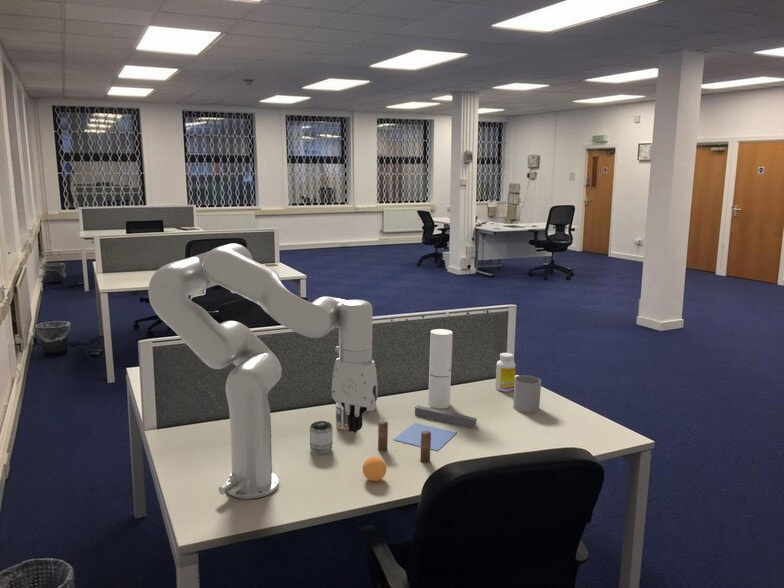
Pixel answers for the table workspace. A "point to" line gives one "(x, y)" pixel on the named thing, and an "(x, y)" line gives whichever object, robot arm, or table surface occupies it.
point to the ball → (374, 468)
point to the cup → (527, 394)
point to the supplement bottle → (505, 373)
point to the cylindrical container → (440, 368)
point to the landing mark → (414, 436)
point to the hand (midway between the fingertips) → (355, 429)
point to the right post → (425, 446)
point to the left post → (382, 436)
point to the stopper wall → (446, 416)
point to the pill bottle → (341, 417)
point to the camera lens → (321, 437)
